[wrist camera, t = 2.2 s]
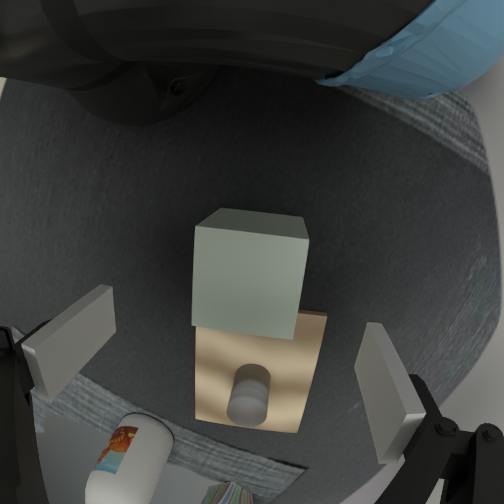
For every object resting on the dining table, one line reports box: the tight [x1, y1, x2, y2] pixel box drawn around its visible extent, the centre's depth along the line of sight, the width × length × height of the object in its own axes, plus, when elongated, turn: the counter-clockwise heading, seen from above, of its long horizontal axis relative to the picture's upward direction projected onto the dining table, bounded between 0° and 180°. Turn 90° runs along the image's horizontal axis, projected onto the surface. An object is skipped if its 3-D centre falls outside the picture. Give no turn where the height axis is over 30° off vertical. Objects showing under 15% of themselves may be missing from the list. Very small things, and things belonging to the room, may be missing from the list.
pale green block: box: [192, 208, 309, 340], centre depth 24 cm, size 7×7×8 cm
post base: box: [195, 309, 327, 433], centre depth 29 cm, size 16×12×6 cm
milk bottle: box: [85, 413, 173, 504], centre depth 27 cm, size 8×8×20 cm
